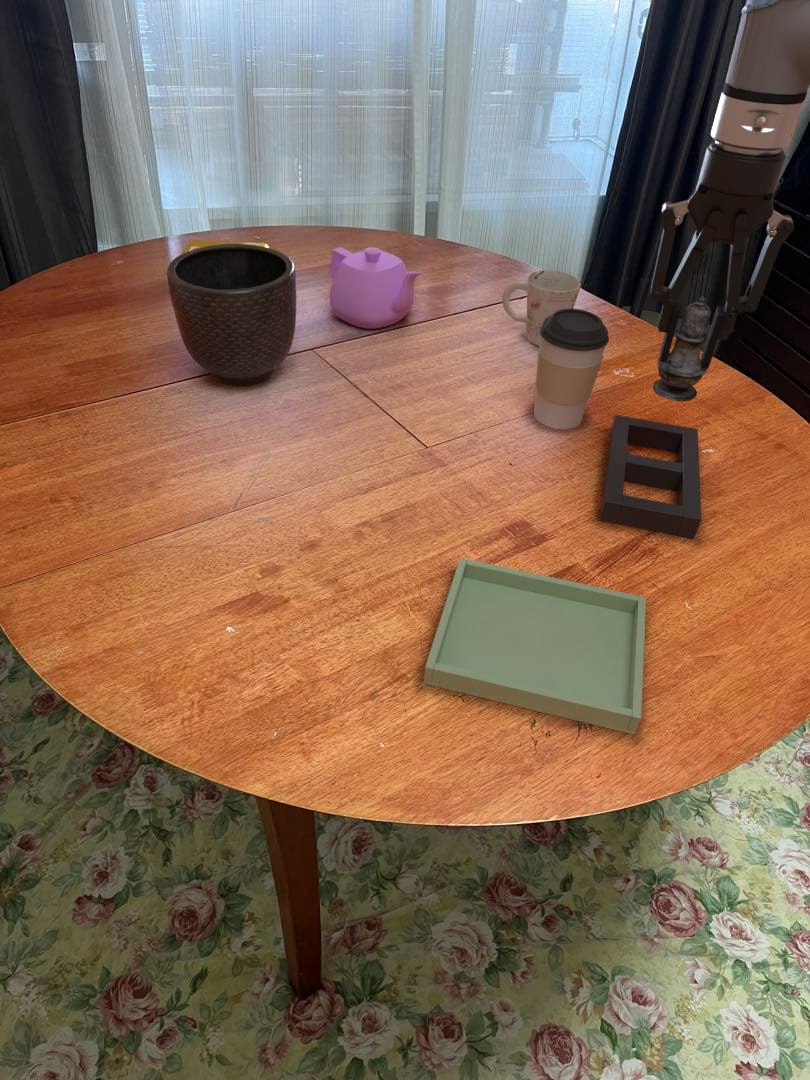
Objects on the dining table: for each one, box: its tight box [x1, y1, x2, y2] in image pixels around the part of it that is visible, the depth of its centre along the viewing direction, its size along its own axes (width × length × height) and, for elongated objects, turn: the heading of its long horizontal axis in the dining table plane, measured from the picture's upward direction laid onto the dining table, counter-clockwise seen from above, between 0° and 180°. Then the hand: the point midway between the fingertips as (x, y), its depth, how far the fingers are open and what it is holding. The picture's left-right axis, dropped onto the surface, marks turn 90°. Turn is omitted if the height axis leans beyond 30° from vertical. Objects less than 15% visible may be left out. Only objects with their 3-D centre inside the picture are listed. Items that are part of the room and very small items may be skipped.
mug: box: [501, 269, 582, 347], centre depth 124 cm, size 8×13×10 cm, turn 61°
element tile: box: [181, 239, 270, 254], centre depth 137 cm, size 15×15×5 cm
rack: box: [599, 414, 702, 540], centre depth 96 cm, size 11×20×3 cm, turn 165°
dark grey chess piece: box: [652, 295, 712, 402], centre depth 89 cm, size 6×6×12 cm
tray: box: [423, 557, 647, 736], centre depth 75 cm, size 20×16×2 cm
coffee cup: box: [533, 308, 610, 430], centre depth 103 cm, size 9×9×15 cm
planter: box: [166, 244, 297, 387], centre depth 109 cm, size 17×17×16 cm
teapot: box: [328, 246, 422, 330], centre depth 127 cm, size 13×20×11 cm
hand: (683, 359), depth 91 cm, fingers closed on dark grey chess piece, 4 cm apart
